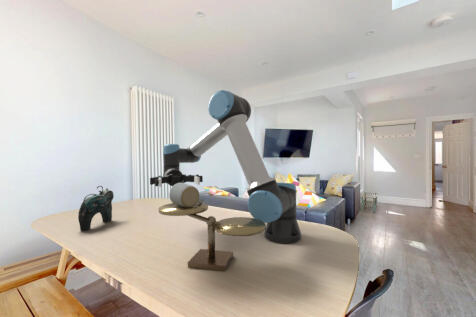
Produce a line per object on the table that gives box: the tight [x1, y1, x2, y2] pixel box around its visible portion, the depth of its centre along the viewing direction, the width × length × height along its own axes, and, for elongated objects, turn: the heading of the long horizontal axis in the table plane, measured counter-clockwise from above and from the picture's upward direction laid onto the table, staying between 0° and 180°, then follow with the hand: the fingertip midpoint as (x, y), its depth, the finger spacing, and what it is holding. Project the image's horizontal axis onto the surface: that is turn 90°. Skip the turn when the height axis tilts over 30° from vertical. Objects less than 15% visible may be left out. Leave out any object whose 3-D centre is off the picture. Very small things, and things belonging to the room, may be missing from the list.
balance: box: [158, 202, 267, 272], centre depth 71 cm, size 35×16×18 cm, turn 77°
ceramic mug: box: [168, 183, 205, 207], centre depth 74 cm, size 11×8×8 cm
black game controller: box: [77, 185, 115, 232], centre depth 112 cm, size 20×6×20 cm, turn 172°
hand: (180, 181), depth 79 cm, fingers open, 13 cm apart
